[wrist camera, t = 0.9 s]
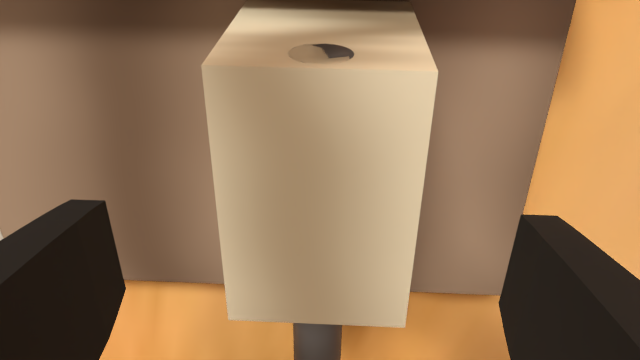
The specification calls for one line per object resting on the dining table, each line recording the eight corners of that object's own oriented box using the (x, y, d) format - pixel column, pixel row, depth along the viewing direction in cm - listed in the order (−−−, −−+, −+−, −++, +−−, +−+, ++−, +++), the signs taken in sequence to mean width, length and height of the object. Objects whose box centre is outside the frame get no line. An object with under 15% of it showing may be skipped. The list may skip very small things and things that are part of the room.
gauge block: (410, 1, 13) (438, 71, 9) (385, 255, 17) (397, 386, 13) (248, -3, 13) (201, 65, 9) (262, 250, 18) (234, 378, 13)
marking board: (579, -115, 13) (642, -106, 10) (491, 266, 19) (516, 336, 17) (-288, -128, 14) (-450, -123, 11) (-104, 242, 20) (-178, 305, 17)
